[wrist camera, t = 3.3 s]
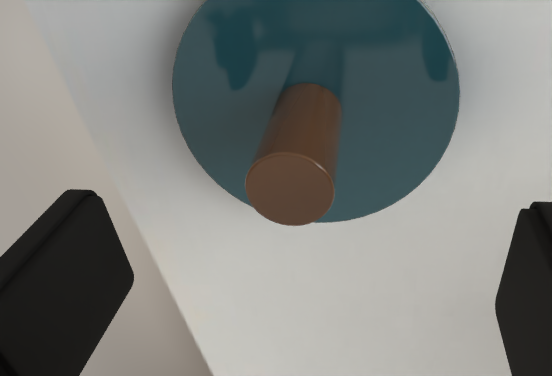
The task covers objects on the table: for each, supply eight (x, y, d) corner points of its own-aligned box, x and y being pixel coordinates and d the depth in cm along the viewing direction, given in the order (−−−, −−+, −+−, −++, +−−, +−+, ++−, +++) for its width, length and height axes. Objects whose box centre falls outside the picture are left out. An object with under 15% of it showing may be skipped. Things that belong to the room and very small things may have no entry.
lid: (211, 203, 20) (163, 302, 15) (152, -36, 14) (49, 11, 10) (438, 207, 18) (461, 324, 13) (475, -68, 12) (538, -30, 8)
